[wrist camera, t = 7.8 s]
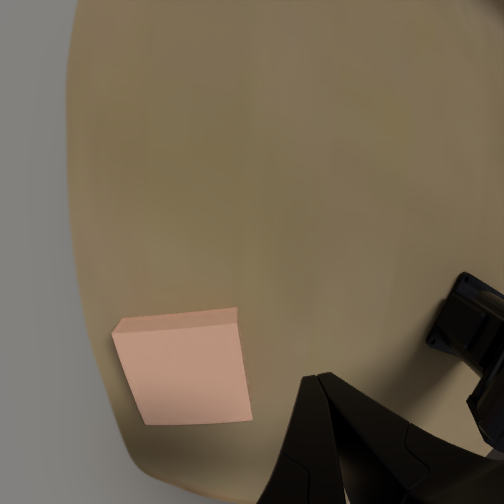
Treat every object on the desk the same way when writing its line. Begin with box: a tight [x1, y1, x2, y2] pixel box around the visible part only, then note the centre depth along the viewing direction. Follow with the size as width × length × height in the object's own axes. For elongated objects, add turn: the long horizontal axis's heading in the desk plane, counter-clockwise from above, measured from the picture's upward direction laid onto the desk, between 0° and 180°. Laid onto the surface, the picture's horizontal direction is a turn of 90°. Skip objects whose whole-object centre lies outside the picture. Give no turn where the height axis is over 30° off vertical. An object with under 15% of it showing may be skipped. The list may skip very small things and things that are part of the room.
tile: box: [111, 307, 253, 425], centre depth 21 cm, size 3×8×8 cm
